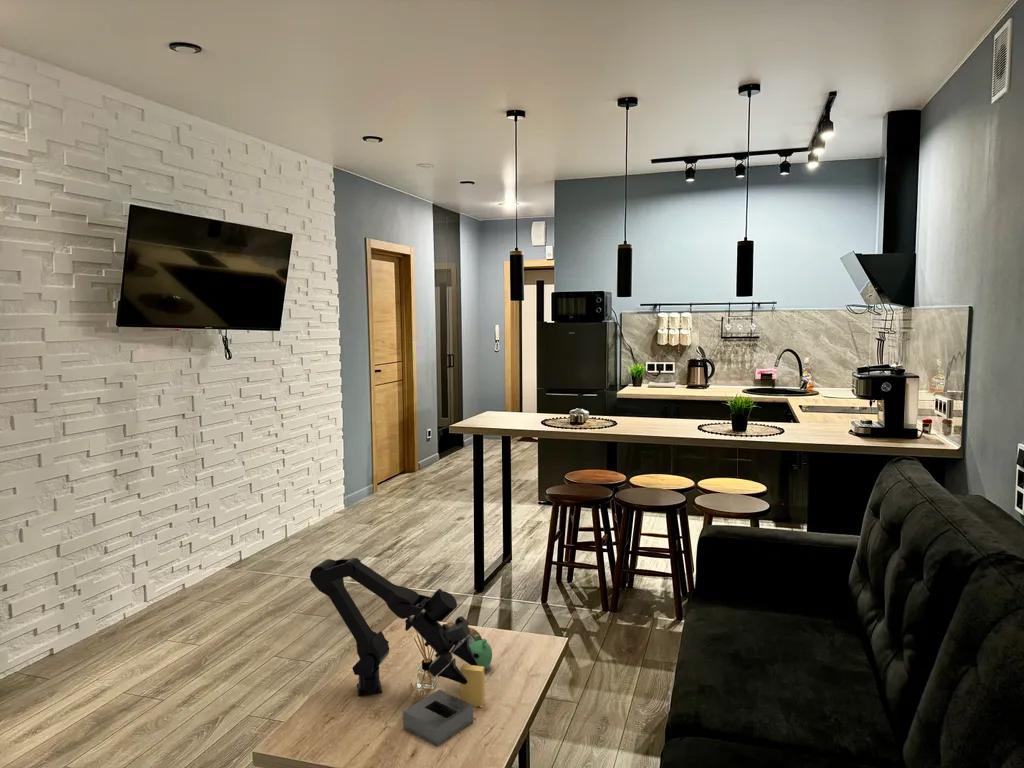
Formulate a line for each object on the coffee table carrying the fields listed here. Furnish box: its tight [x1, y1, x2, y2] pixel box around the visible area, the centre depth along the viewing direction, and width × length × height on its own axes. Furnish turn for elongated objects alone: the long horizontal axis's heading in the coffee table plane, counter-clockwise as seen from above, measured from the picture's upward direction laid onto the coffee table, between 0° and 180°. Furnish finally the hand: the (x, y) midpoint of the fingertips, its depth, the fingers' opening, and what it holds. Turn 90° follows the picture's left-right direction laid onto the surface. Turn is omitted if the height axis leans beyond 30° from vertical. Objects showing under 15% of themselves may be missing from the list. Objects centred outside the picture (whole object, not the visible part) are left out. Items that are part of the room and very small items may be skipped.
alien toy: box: [469, 634, 493, 670], centre depth 206 cm, size 7×8×10 cm
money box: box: [402, 689, 474, 747], centre depth 178 cm, size 12×13×4 cm
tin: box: [445, 621, 483, 651], centre depth 216 cm, size 15×3×8 cm, turn 58°
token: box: [459, 663, 486, 707], centre depth 188 cm, size 6×2×10 cm, turn 76°
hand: (471, 674), depth 187 cm, fingers open, 9 cm apart
